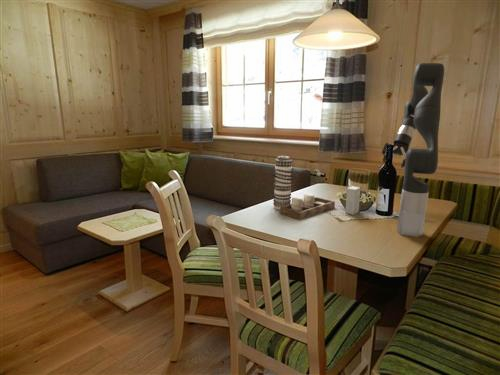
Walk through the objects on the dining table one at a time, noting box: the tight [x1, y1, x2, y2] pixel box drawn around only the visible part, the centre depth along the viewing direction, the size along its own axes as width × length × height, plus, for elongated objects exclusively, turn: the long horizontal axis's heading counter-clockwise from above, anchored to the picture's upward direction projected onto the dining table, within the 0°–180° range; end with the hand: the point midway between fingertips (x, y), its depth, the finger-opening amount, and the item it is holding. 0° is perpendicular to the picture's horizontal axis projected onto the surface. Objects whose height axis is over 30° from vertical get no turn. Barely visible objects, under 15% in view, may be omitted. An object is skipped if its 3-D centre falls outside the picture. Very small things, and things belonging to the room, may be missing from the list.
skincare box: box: [344, 185, 361, 216], centre depth 155 cm, size 6×4×12 cm
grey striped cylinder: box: [272, 155, 294, 210], centre depth 160 cm, size 9×9×25 cm
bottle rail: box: [279, 193, 336, 220], centre depth 157 cm, size 28×11×7 cm, turn 134°
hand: (392, 165), depth 164 cm, fingers open, 8 cm apart
